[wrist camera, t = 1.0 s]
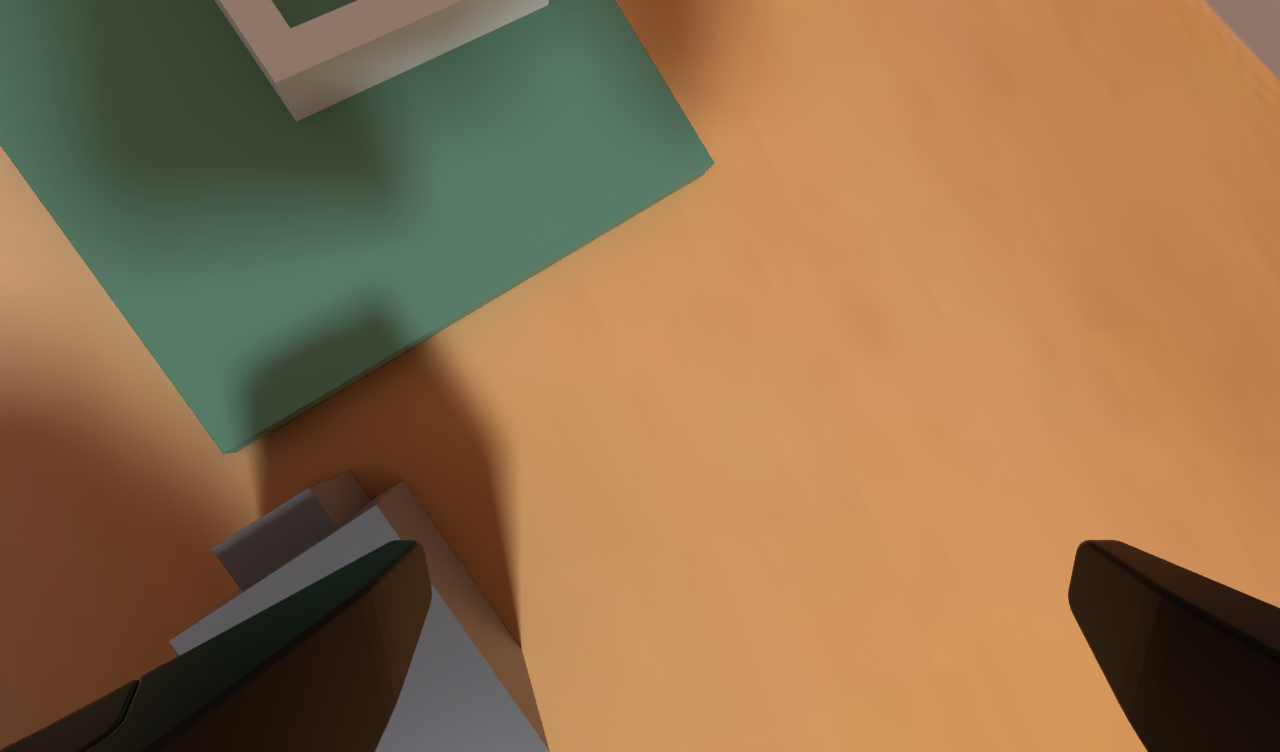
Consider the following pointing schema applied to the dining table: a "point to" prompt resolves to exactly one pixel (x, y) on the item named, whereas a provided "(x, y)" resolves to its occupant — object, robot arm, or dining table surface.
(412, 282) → the board
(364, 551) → the plug
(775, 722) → the dining table surface
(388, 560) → the robot arm
